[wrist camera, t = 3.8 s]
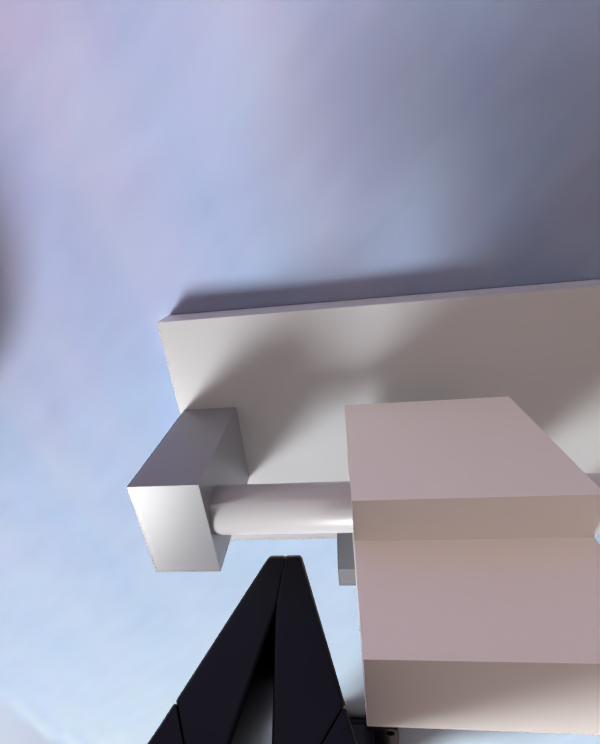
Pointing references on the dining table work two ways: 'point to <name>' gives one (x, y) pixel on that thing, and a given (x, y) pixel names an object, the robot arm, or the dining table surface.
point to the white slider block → (473, 569)
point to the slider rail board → (346, 387)
